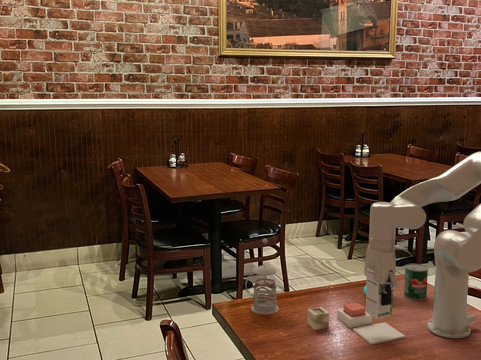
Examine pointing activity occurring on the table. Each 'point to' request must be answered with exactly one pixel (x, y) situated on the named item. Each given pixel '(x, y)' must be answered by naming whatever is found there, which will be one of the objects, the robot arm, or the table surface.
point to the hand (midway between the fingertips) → (379, 300)
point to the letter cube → (318, 318)
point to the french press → (262, 303)
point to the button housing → (354, 319)
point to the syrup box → (376, 298)
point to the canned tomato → (415, 281)
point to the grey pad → (378, 333)
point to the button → (354, 309)
